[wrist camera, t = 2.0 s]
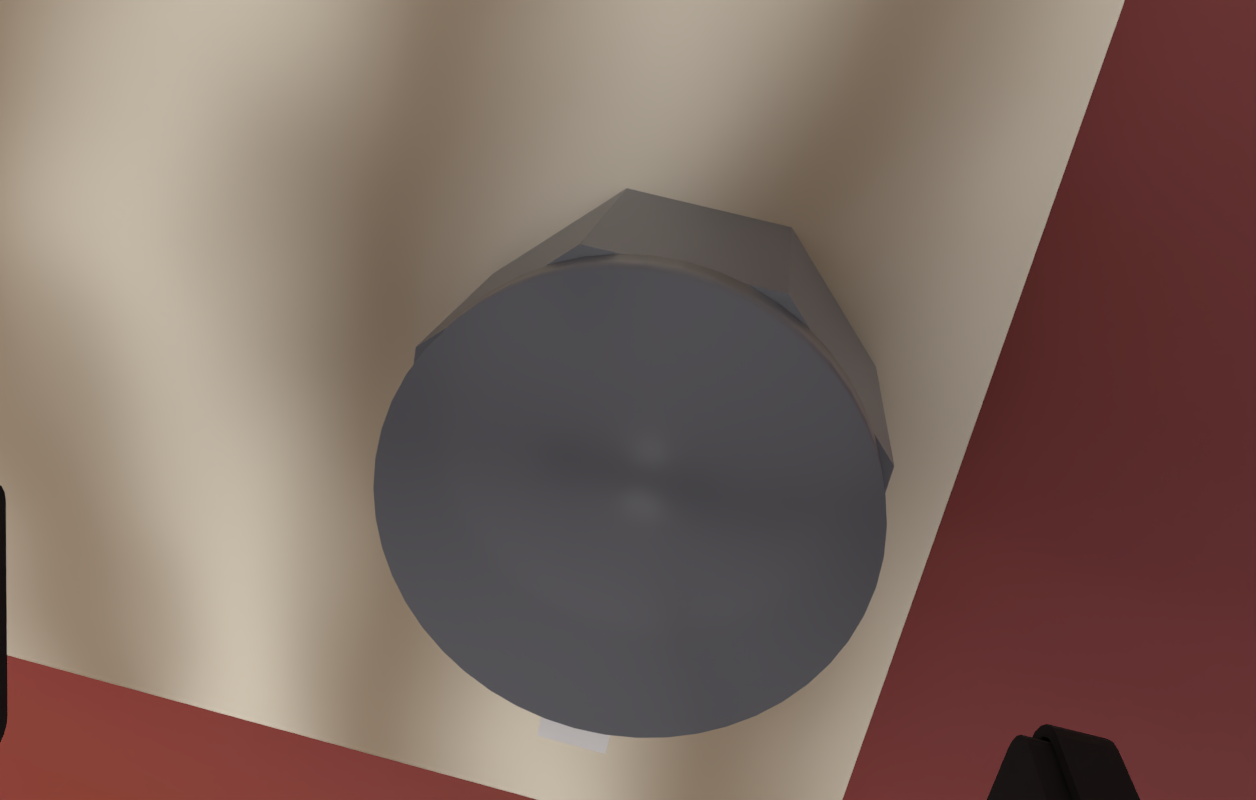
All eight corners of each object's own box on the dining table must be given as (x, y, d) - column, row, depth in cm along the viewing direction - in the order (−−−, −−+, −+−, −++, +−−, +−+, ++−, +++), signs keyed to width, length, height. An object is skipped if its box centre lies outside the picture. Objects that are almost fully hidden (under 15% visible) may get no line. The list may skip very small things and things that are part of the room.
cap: (917, 250, 17) (957, 345, 13) (799, 628, 20) (798, 815, 15) (507, 153, 18) (407, 212, 13) (444, 537, 20) (343, 693, 16)
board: (1397, -849, 13) (1829, -1453, 8) (814, 832, 23) (818, 1105, 17) (-27, -1092, 14) (-553, -1773, 9) (-8, 609, 24) (-252, 799, 18)
